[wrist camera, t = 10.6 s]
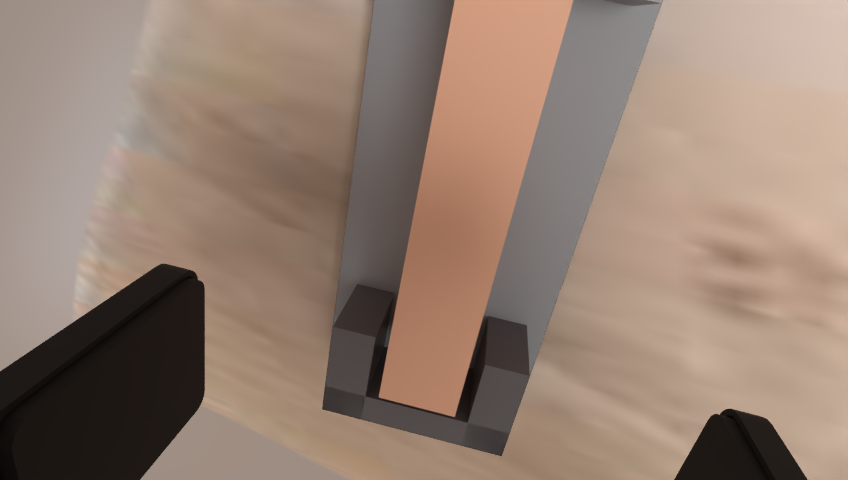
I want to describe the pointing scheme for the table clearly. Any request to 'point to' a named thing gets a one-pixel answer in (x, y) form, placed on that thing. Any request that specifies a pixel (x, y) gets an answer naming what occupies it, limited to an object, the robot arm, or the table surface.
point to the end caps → (471, 427)
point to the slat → (468, 190)
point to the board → (546, 167)
